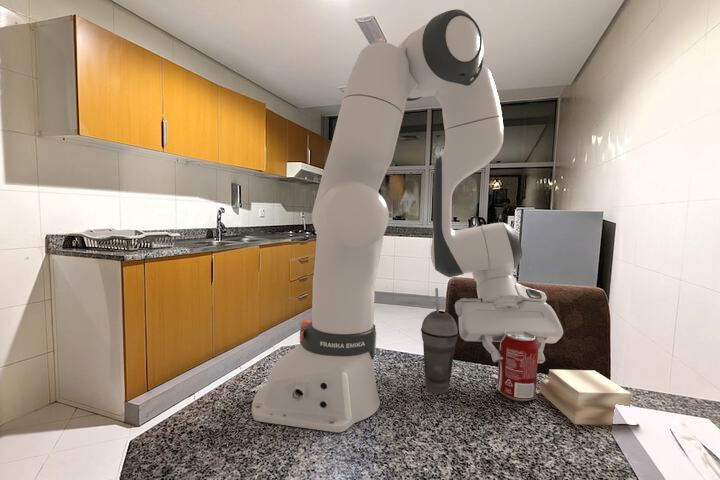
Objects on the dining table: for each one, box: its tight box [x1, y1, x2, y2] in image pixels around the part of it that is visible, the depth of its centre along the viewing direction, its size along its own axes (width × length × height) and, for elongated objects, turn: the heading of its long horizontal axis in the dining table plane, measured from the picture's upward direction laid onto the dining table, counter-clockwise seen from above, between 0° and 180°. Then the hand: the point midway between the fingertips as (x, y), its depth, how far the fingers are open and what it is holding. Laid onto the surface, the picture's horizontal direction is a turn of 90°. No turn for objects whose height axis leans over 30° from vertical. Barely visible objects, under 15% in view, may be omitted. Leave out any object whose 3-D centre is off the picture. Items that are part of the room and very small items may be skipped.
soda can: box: [496, 331, 539, 402], centre depth 67 cm, size 7×7×12 cm
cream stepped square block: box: [539, 368, 635, 426], centre depth 63 cm, size 11×11×5 cm
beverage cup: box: [420, 287, 459, 395], centre depth 68 cm, size 7×7×20 cm
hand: (519, 361), depth 66 cm, fingers closed on soda can, 7 cm apart
